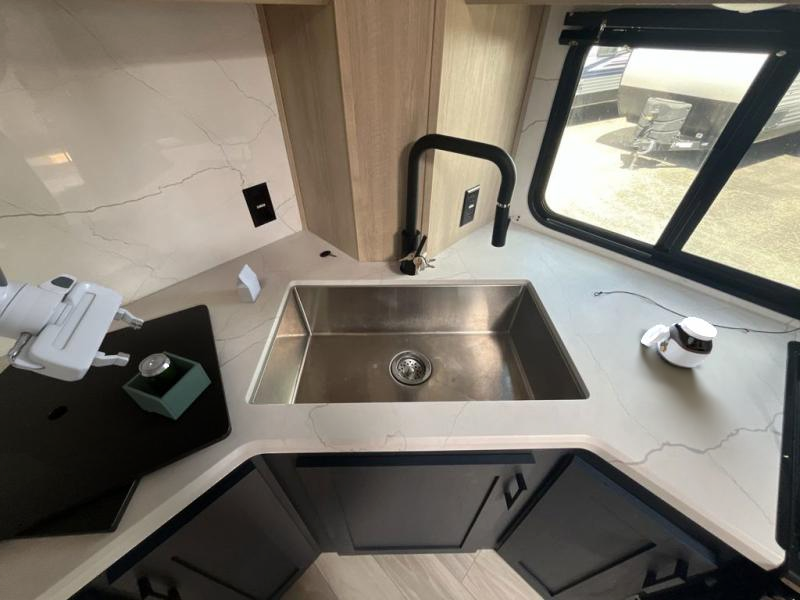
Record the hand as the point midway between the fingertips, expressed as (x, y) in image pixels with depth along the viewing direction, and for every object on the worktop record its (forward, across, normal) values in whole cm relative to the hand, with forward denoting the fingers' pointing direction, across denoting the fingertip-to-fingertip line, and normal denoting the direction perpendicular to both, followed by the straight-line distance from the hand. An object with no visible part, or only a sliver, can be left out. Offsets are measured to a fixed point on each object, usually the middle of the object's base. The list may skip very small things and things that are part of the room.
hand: (135, 342), depth 62 cm
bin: (+14, 0, +13) cm, 19 cm away
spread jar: (+101, -24, -73) cm, 127 cm away
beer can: (+13, 0, +13) cm, 19 cm away
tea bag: (+24, +34, +3) cm, 42 cm away
